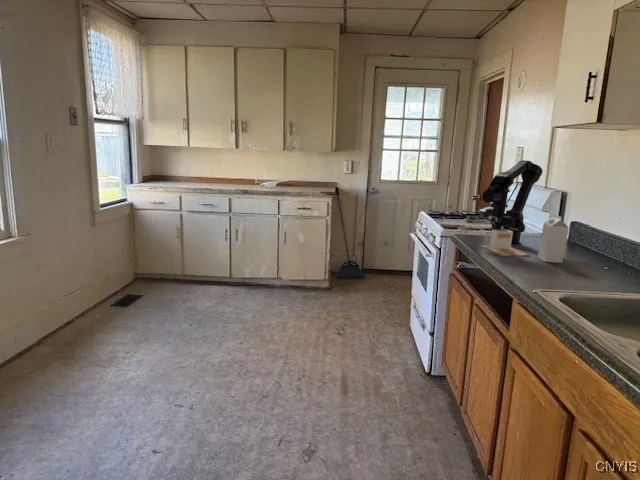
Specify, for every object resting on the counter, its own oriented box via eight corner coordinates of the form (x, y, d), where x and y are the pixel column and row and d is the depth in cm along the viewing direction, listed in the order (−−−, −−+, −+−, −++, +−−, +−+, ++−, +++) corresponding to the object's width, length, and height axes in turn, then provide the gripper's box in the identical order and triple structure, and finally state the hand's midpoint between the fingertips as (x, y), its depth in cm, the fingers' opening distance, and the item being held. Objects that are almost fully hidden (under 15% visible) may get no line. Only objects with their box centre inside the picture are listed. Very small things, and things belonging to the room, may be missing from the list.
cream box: (506, 247, 199) (508, 230, 197) (510, 249, 195) (513, 231, 193) (489, 246, 198) (492, 229, 196) (493, 248, 194) (496, 231, 192)
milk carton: (554, 259, 184) (562, 214, 180) (562, 263, 177) (570, 217, 173) (537, 257, 185) (545, 213, 180) (544, 262, 178) (552, 216, 173)
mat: (509, 247, 201) (509, 246, 201) (530, 256, 186) (530, 255, 186) (481, 246, 199) (481, 245, 199) (499, 255, 184) (499, 254, 184)
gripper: (473, 198, 206) (469, 230, 209) (493, 204, 188) (488, 239, 191) (495, 199, 207) (490, 231, 211) (517, 205, 189) (511, 240, 193)
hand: (494, 235), depth 201 cm, fingers closed
